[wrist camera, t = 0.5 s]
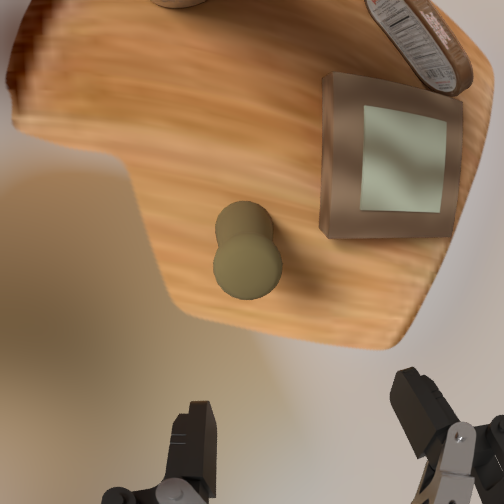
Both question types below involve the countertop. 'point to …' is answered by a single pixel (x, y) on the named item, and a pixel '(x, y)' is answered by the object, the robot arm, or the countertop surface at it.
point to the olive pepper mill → (246, 251)
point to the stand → (388, 159)
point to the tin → (425, 43)
